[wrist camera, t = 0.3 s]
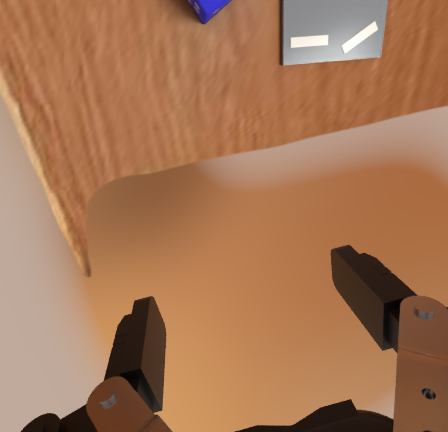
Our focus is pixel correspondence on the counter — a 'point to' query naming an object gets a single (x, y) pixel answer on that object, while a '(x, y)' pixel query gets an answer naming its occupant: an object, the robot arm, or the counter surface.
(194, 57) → the counter surface
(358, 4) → the tile
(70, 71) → the counter surface
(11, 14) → the counter surface
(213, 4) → the die
